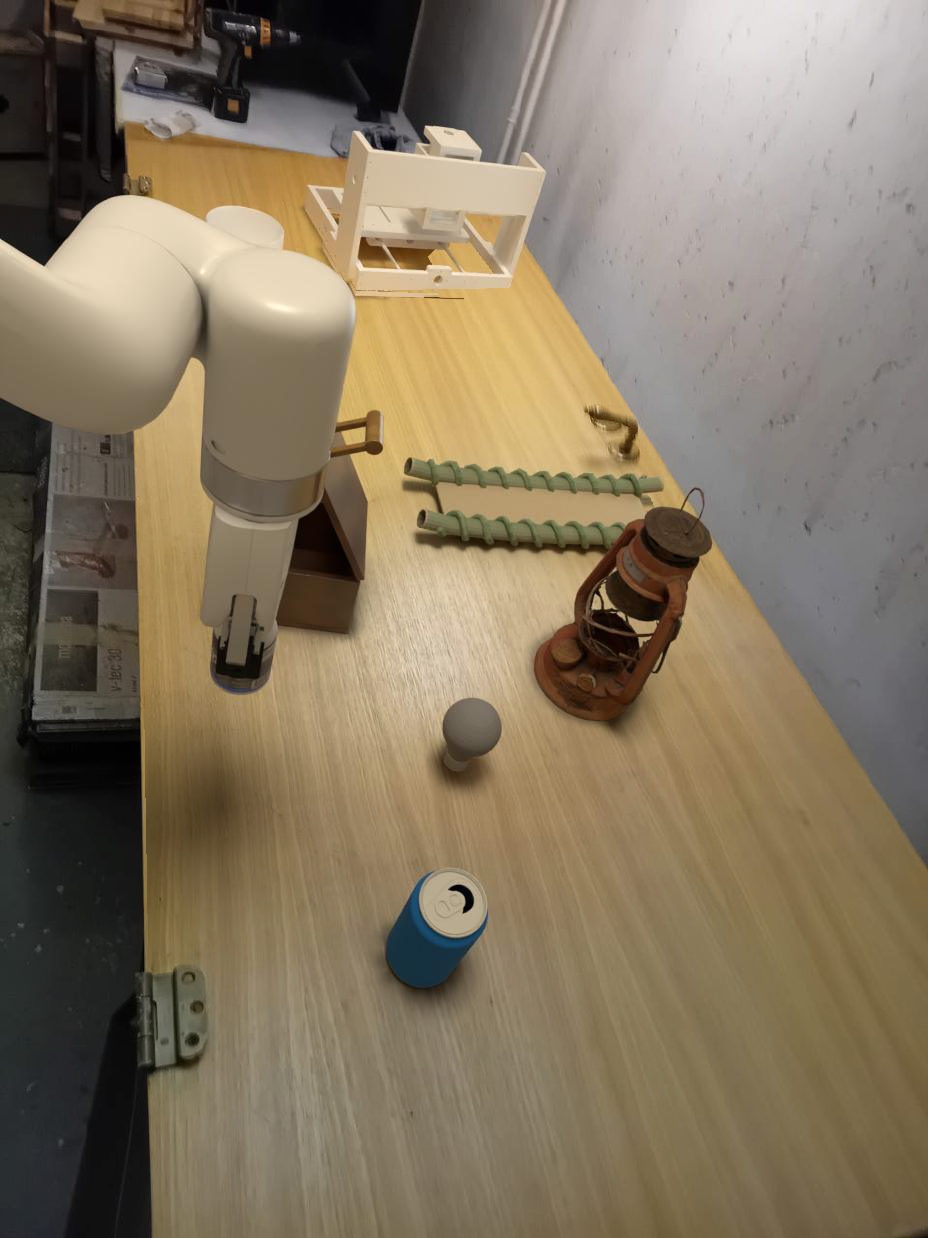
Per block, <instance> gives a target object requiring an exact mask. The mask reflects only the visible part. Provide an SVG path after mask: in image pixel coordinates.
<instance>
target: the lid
mask: <svg viewBox="0 0 928 1238" xmlns="http://www.w3.org/2000/svg"><path fill="white" fill-rule="evenodd" d="M361 428H365V430H364V441H362V442H357V443H351V444H346V441H345V438H344V435H343V434H342V432H346V431H351V430H356V429H361ZM384 429H385V416H384V413H382V412H381V411H380V410H378V409H372V410H370V411H368V412H367V413H366V416H365V417H360V418H354V419H350V420H344V421H339V422H338V421H337V424H336V429H335V434H334V440H333V445H332V450H331V455H330V460H329V465H328V470H327V475H326V481H325V486H324V492H323V496H322V501H323V503H324V506H325V508H326V510H327V512H328V515H329V517H330V519H331V522H332V524H333V526H334V528H335V531H336V533H337V535H338V538H339V540H340V542H341V544H342V547H343V549H344V551H345V554H346V556H347V558H348V560H349V563H350V565H351V567H352V569H353V572H354V574H355V576H356V579H357V581H360V582H361V581H365V576H366V575H365V574H366V555H367V554H366V552H367V534H368V533H367V532H368V531H367V529H368V507H369V501H368V498H367V496H366V493H365V490H364V488H363V485H362V483H361V481H360V477H359V474H358V473H357V472H358V471H357V470H356V467H355V464H354V462H353V459H352V457H351V455H353V454H359V453H364V452H366V453H367V454H369V455H371V456H378V455H380V454H381V453H382V452H383V449H384V435H385V434H384V431H385V430H384Z"/></svg>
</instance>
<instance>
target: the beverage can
mask: <svg viewBox="0 0 928 1238" xmlns="http://www.w3.org/2000/svg"><path fill="white" fill-rule="evenodd" d="M488 905H489V904H488V897H487V894H486V892H485V889H484V887H483V885H482V883H480V881H479V880H478V879H477V878H476V877H475V876H474V875H473V874H471V873H470V872H468V871H466V870H464V869H461V868H458V867H457V868H456V867H443V868H440V869H436V870H433V871H430V872H429V873H427V874H425V875H424V876H423V877H422V878H420V879H419V881H417V883H416V884H415V886H414V888H413V890H412V891H411V893H410V895H409V897H408V899H407V900H406V902H405V904H404V906H403V908H402V910H401V911H400V913H399V915H398V916H397V919H396V920H395V922H394V924H393V926H392V928H391V929H390V931H389V934H388V936H387V940H386V945H385V946H386V948H385V949H386V958H387V961H388V964H389V966H390V968H391V970H392V971H393V973H394V974H395V975H396V976H397V977H398V978H399V979H400V980H401V981H403V983H405V984H407V985H409V986H412V987H415V988H425V989H426V988H431V987H435V986H437V985H439V984H442V983H443V982H444V981H446V979H448V977H449V976H450V975H451V974H452V973H453V972H454V970H455V969H456V968H457V966H458V965H459V964H460V962H461V961H462V960H463V959H464V958H465V956H466V955H467V953H468V952H469V951H470V950H471V948H472V947H473V946H474V945H475V943H476V942H477V941H478V939H479V938H481V935H482V934H483V933H484V931H485V929H486V927H487V924H488V919H489V906H488Z"/></svg>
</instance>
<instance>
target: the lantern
mask: <svg viewBox="0 0 928 1238" xmlns="http://www.w3.org/2000/svg"><path fill="white" fill-rule="evenodd" d="M695 490H696V491H698V492H699V493H700V496H701V500H702V508H701V511H700V514H699V516H698V517H697V516H695V515H693V514H692V513H690V512H688V511H686V510H685V509H684V507H685V505H686V503H687V501H688V499H689V498H690V495H691V494H692V493H693V492H694V491H695ZM705 505H706V504H705V493H704V491H703V490H702V488H700V487H696V486H695V487H693V488H692V489H691V490H690V491H689V492H688V494H687V495H686V497H685V498H684V501H683V503H682V505H681V507H680V508H679V507H672V506H662V505H661V506H655V507H652V508H651V509H650V510H648V511H646V515H645V519H637V520H634V521H632V522H629V523H628V524H627V526H626V528H625V530H624V531H623V533H622V534H621V535H620V536H619V538H618V539H617V540H616V542H615V543H614V544H612V547H611V548H609V549H608V550H607V551H606V553H605V555H604V556H603V557H602V558H601V559H600V561H599V562H598V564H597V565H596V566H595V567H594V568H593V569H592V571H591V572H590V573H589V575H588V576H587V577H586V578H585V580H584V581H583V582H582V584H581V585H580V587H579V588H578V590H577V592H576V594H575V600H574V603H573V604H574V605H573V615H574V621H573V622H571V623H567V624H564V625H562V626H561V627H560V628H558V629H557V630H556V631H555V632H554V634H553V636H552V637H550V638H549V639H547V640H545V642H543V643H541V645H540V646H539V647H538V649H537V650H536V652H535V655H534V659H533V672H534V676H535V679H536V681H537V685H538V686H539V687H540V689H541V691H542V692H543V694H545V696H546V697H547V698H548V699H549V700H550V701H551V702H552V703H553V704H555V706H557V707H558V708H559V709H561V710H562V711H564V712H566V713H568V714H570V715H571V716H574V717H576V718H579V719H583V720H587V721H596V722H597V721H608V720H613V719H615V718H617V717H619V716H621V715H622V714H623V713H625V712H626V710H627V709H628V708H629V707H630V705H632V704H633V703H634V701H635V700H636V699H637V698H638V696H639V695H640V694H641V692H643V691H644V686H645V685H646V683H647V680H648V679H649V678H650V676H651V674H654V675H655V674H656V675H657V674H658V673H659V672H660V671H661V669H662V667H663V665H664V662H665V659H666V657H667V653H668V650H669V648H670V646H671V643H673V642H674V641H676V640H677V638H678V636H679V633H680V631H681V628H682V626H683V617H684V616H685V611H686V606H687V601H688V594H687V592H688V590H689V582H690V581H691V579H692V576H693V574H694V571H695V570H696V568H697V566H698V565H699V564H700V557H702V556H704V555H707V554H708V553H709V552H710V551H711V550H712V548H713V540H712V535H711V532H710V530H709V529H708V528H707V526H705V524H704V523H703V522H702V521H701V518H702V516H703V512H704V509H705ZM615 569H616V570H615ZM602 585H604V587H602ZM603 589H604V590H605V595H606V596H607V599H608V601H609V602H610V603H611V605H612V606H613V607H614V608H613V607H610V608H607V609H606V608H605V601H604V599H603V596H602V594H601V592H600V591H601V590H603ZM595 595H596V596H598V597H599V600H600V609H599V608H598V609H595V608H593V603H594V604H596V603H597V600H598V599H596V601H595V602H594V599H595ZM618 613H622V614H623V615H624V618H623V617H622V616H620V615H619V614H618ZM629 618H630V619H633V620H636V621H638V622H647V623H649V622H650V623H651V622H655V621H656V622H655V624H656V627H655V629H654V631H653V632H651V633H649V632H648V633H637V632H636V630H635V628H633V626H632V625H631V624H630V620H629ZM649 637H650V638H649ZM639 638H649V639H646V641H645V640H643V641H642V645H640V639H639ZM597 643H599V644H601V645H603V646H605V647H606V648H607V649H608V650H609V651H611V652H612V653H613V654H612V653H610V652H608V651H606V650H604V649H603V648H602V647H600V646H599V645H598V644H597ZM659 659H660V660H659ZM658 661H659V663H658ZM657 663H658V665H657ZM656 665H657V667H656ZM655 667H656V669H655ZM654 669H655V670H654Z"/></svg>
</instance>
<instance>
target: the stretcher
mask: <svg viewBox="0 0 928 1238" xmlns="http://www.w3.org/2000/svg"><path fill="white" fill-rule="evenodd" d="M403 473H404V475H405V476H409V477H412V478H417V479H421V480H424V481H428V482H430V483H431V486H432V487H434V488H435V492H436V494H437V498H438V502H439V505H440V508H441V513H440V512H436V511H433V510H430V509H429V510H428V509H426V508H423V509H420V511H419V512H418V514H417V517H416V526H417V528H419V529H422V530H426V531H430V532H431V531H432V532H435V533H436V534H437V535H438V536H439V537H440V538H445V537H446V536H447V535H449V536H460V537H461V540H462V541H463V542H467V541H469V540H470V538H479V539H480V538H481V539H484V541H485V543H486V544H487V545H493V544H494V543H495V540H499V541H508V542H509V543H510V545H511V546H513V547H516V546H518V545H519V542H521V543H534V545H535V547H536V548H542V547H543V544H551V545H552V544H554V545H558V547H559V548H561V549H563V548H566V545H581V547H582V548H583V549H584V550H588V549H590V545H603V546H604V548H605V549H607V550H609V549H610V548H611V547H612V546H613V544H614V543H615V542H616V540H617V539H618V538H619V536H620V535H621V534H622V533H623V531H624V530H625V528H626V526H627V524H628V523H629V522H632V521H634V520H637V519H645V515H646V513H647V511H646V508H645V507H644V505H643V503H642V500H641V499H640V497H642V495H643V494H651V493H661V492H662V493H663V491H664V485H665V483H664V480H663V477H662V476H653V477H648V475H647V474H642V475H641V476H639V477H638V476H637V474H636V473H629V472H628V473H624V474H623V475H621V476H619V477H618V478H616V477H615V476H614V474H611V473H610V474H604V475H601V476H599V477H598V478H597V477H596V475H595V474H594V473H593V472H582V473H581V474H580V475H578V476H577V477H573V476H572V474H571V473H568V472H566V471H560V472H558V473H556V474H555V475H553V476H552V475H551V473H550V472H549V470H548V471H547V470H539V471H537V472H535V473H533V474H532V475H529V474H528V472H527V471H525V470H524V469H522V468H520V467H519V468H516V469H515V470H513V471H511V472H508V473H507V472H506V470H505V469H504V467H502V466H493V467H491V468H489V469H488V470H483V469H482V467H481V466H480V465H478V464H477V463H470V464H466V465H465V466H464V467H460V466H459V463H458V461H455V460H448V459H447V460H446V461H444V462H442V463H440V464H436V462H435V460H434V459H433V458H429V459H428V460H427V461H425V460H422V459H418V458H415V457H412V456H408V458H407V459H406V461H405V463H404V466H403Z"/></svg>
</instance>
